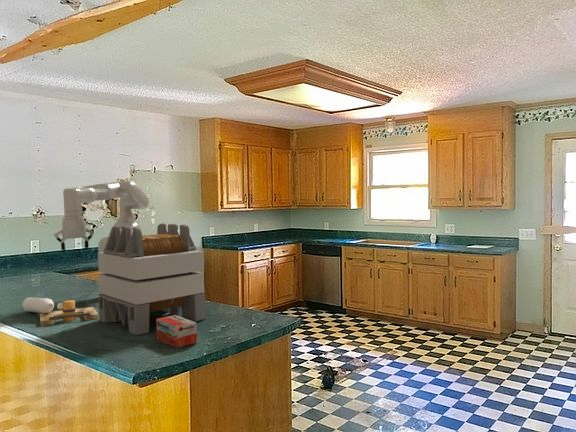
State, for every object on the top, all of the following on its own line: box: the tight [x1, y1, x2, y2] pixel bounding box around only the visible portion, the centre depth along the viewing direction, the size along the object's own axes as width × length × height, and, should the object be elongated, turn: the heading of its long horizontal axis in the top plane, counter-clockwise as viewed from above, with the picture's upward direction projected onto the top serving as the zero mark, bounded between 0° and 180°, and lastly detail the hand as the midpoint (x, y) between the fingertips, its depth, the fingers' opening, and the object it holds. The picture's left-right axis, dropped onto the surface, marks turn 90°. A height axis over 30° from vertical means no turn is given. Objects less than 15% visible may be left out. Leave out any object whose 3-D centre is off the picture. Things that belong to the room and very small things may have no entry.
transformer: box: [97, 222, 207, 336], centre depth 203 cm, size 34×33×41 cm
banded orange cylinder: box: [62, 299, 77, 322], centre depth 205 cm, size 5×5×8 cm
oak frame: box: [39, 306, 99, 327], centre depth 208 cm, size 22×16×3 cm
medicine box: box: [156, 314, 198, 349], centre depth 172 cm, size 15×8×8 cm, turn 44°
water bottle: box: [21, 296, 63, 314], centre depth 214 cm, size 9×6×25 cm
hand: (75, 250), depth 227 cm, fingers open, 9 cm apart
